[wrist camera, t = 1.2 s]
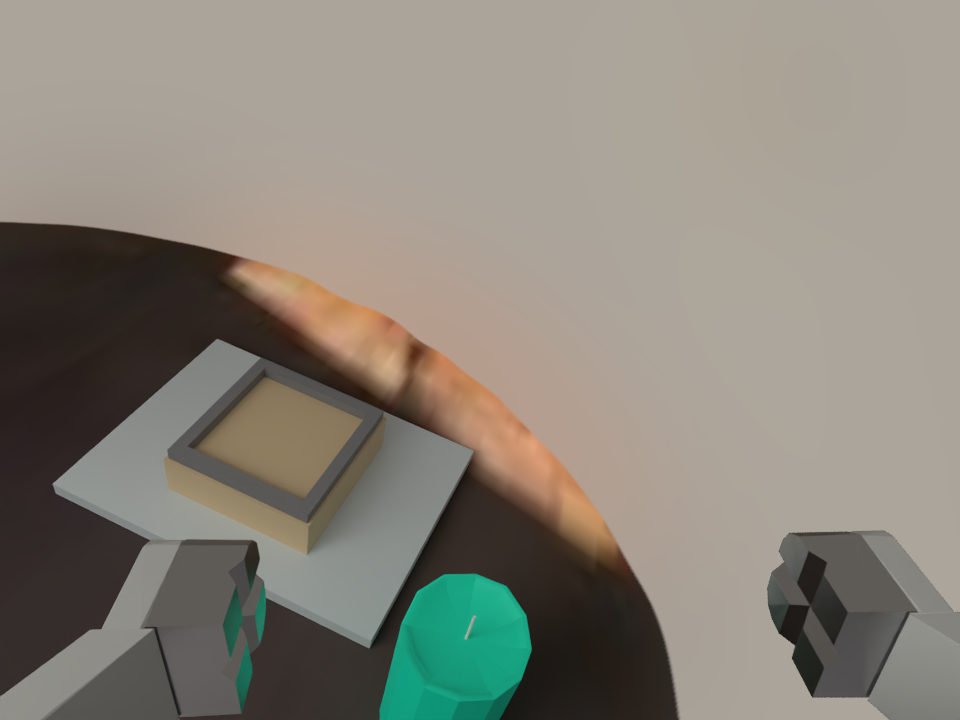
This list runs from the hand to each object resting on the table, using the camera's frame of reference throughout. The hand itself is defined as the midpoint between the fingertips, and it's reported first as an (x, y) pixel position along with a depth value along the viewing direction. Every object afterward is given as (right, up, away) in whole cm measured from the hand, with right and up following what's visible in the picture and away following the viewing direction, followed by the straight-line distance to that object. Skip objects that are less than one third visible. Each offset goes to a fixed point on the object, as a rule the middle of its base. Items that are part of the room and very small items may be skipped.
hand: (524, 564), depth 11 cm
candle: (-3, -17, +28) cm, 32 cm away
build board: (-14, -5, +37) cm, 40 cm away
